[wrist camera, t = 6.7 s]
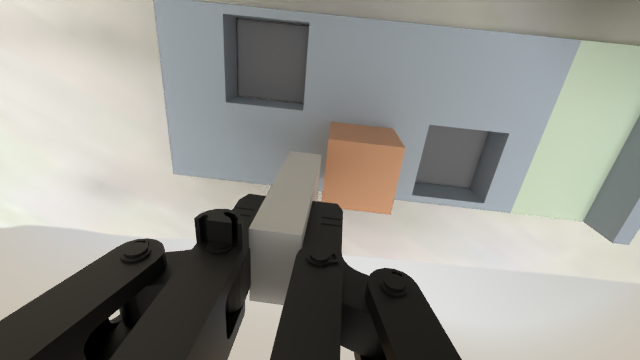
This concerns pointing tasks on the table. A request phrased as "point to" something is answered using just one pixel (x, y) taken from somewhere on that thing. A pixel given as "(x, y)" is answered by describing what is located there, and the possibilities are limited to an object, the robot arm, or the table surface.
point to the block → (362, 167)
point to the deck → (409, 107)
